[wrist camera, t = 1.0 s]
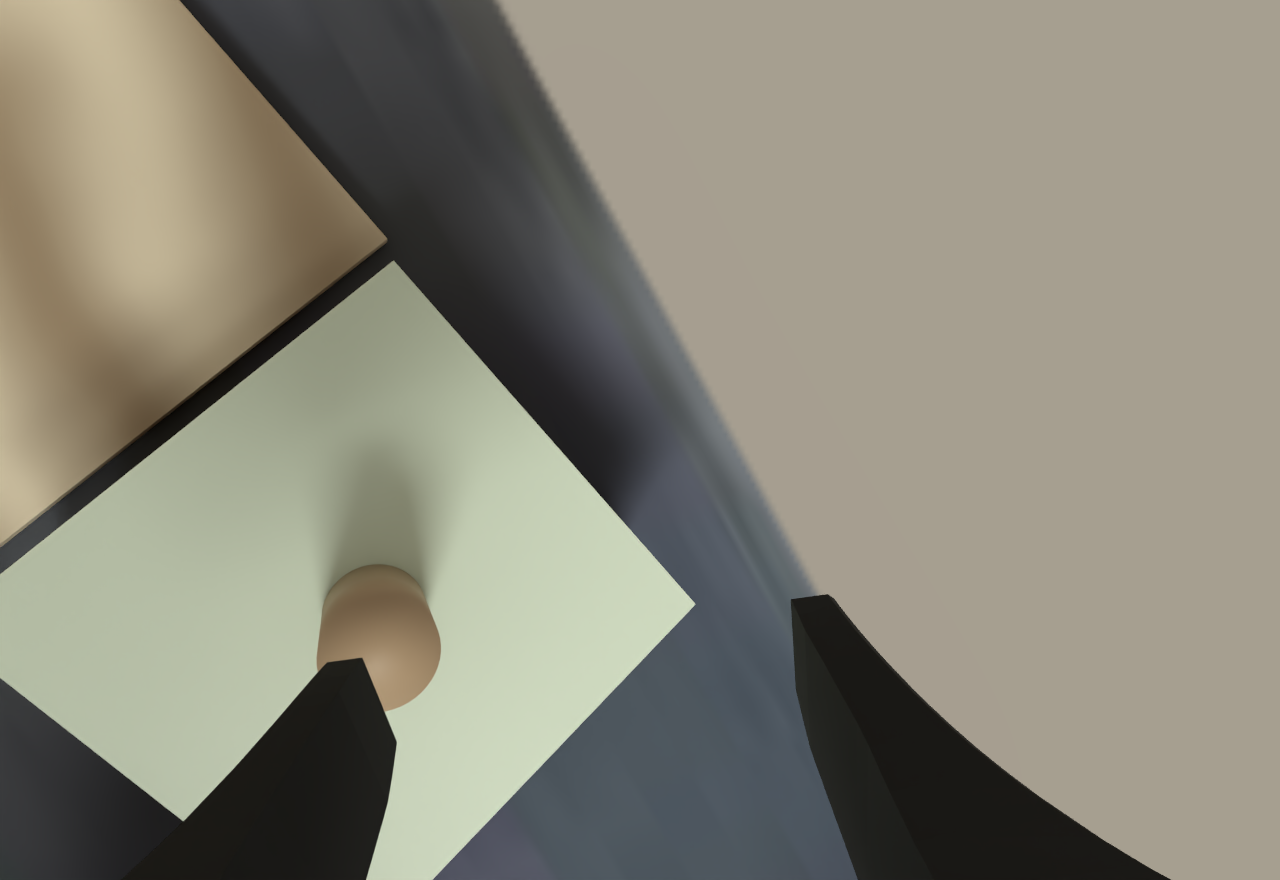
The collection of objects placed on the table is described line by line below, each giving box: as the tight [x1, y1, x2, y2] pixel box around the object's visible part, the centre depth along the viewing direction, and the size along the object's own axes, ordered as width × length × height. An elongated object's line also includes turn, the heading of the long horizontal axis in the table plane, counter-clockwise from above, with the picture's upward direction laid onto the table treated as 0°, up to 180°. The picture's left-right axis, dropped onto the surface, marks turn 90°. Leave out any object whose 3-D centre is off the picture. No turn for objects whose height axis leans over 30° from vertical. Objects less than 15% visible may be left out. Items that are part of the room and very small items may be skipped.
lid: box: [0, 260, 695, 880], centre depth 18 cm, size 12×12×5 cm
